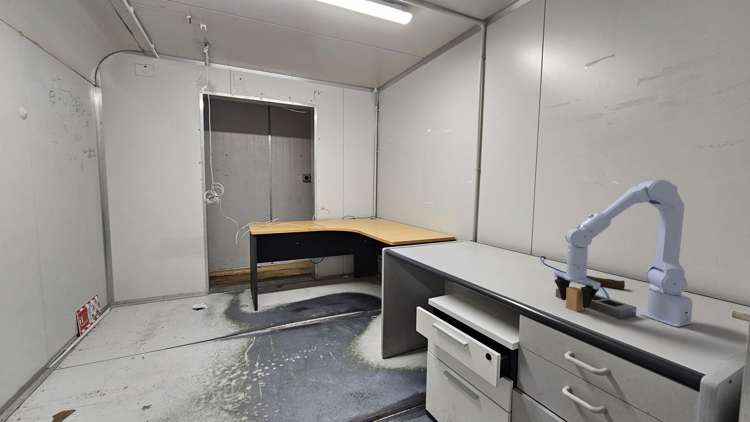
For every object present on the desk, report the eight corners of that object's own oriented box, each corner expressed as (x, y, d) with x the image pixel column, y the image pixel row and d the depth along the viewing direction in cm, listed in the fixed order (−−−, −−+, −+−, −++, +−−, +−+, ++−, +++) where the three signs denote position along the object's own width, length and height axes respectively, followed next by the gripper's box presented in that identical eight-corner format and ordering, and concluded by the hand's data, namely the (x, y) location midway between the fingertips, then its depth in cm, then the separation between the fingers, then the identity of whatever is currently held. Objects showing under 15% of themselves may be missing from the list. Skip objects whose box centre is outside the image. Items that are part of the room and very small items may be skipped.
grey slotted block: (635, 316, 96) (636, 307, 96) (619, 319, 93) (620, 310, 93) (570, 294, 117) (570, 286, 117) (555, 296, 114) (555, 288, 114)
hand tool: (624, 289, 124) (625, 278, 124) (624, 291, 121) (625, 280, 121) (570, 280, 136) (571, 270, 136) (569, 282, 133) (569, 272, 133)
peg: (583, 310, 101) (584, 290, 100) (575, 311, 100) (576, 291, 99) (573, 306, 104) (574, 286, 104) (565, 307, 103) (566, 287, 103)
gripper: (548, 260, 106) (547, 297, 107) (590, 270, 93) (588, 313, 94) (563, 258, 109) (561, 295, 110) (605, 268, 95) (603, 310, 96)
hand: (574, 303), depth 102 cm, fingers open, 7 cm apart
